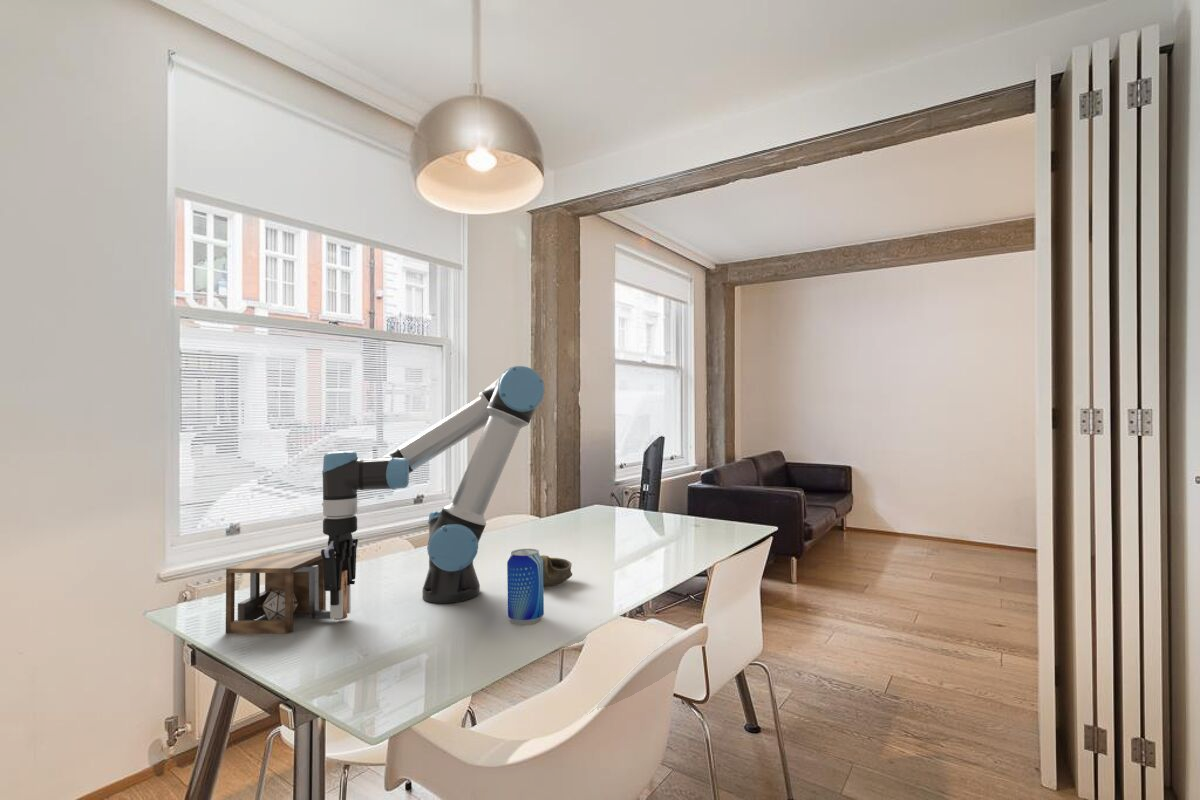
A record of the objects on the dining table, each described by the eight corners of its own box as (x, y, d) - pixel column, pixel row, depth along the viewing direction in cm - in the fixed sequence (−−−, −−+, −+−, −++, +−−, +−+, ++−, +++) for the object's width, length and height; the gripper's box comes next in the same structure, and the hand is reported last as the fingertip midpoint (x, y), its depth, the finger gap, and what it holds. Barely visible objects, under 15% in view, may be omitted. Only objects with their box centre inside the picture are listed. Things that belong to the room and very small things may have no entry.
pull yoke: (356, 610, 143) (356, 560, 143) (336, 624, 133) (335, 571, 133) (264, 611, 144) (264, 561, 144) (237, 625, 134) (237, 572, 134)
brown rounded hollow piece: (575, 577, 174) (574, 544, 174) (566, 595, 156) (565, 557, 157) (530, 577, 175) (529, 544, 175) (516, 594, 157) (516, 557, 158)
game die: (282, 639, 137) (277, 613, 131) (253, 625, 139) (247, 598, 133) (311, 611, 144) (307, 584, 139) (283, 597, 146) (278, 570, 140)
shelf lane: (325, 611, 146) (325, 553, 146) (290, 633, 130) (290, 568, 131) (267, 611, 147) (268, 553, 147) (225, 633, 131) (226, 568, 132)
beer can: (549, 616, 139) (548, 548, 140) (534, 627, 131) (533, 556, 132) (518, 612, 142) (517, 546, 143) (501, 624, 134) (500, 554, 135)
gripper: (341, 511, 147) (341, 605, 146) (306, 522, 131) (306, 627, 130) (370, 510, 147) (370, 604, 146) (338, 521, 131) (339, 627, 130)
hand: (340, 615), depth 138 cm, fingers closed on pull yoke, 3 cm apart
